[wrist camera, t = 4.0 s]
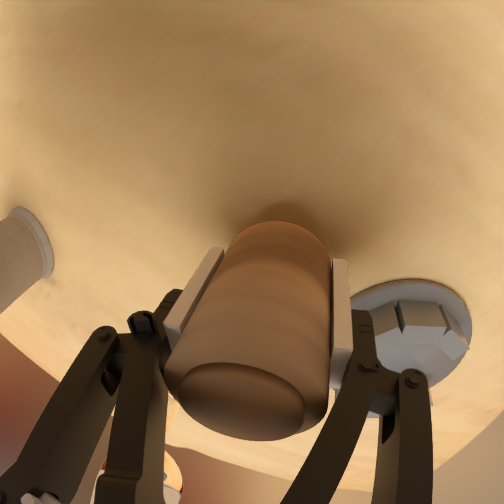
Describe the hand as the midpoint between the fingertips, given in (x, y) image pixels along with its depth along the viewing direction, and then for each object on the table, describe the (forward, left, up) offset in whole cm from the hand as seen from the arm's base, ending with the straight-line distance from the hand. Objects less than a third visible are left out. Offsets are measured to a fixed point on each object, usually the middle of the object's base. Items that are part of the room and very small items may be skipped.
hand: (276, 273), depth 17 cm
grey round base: (+9, +10, -4) cm, 14 cm away
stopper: (0, 0, -1) cm, 1 cm away
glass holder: (+4, -30, -4) cm, 30 cm away
